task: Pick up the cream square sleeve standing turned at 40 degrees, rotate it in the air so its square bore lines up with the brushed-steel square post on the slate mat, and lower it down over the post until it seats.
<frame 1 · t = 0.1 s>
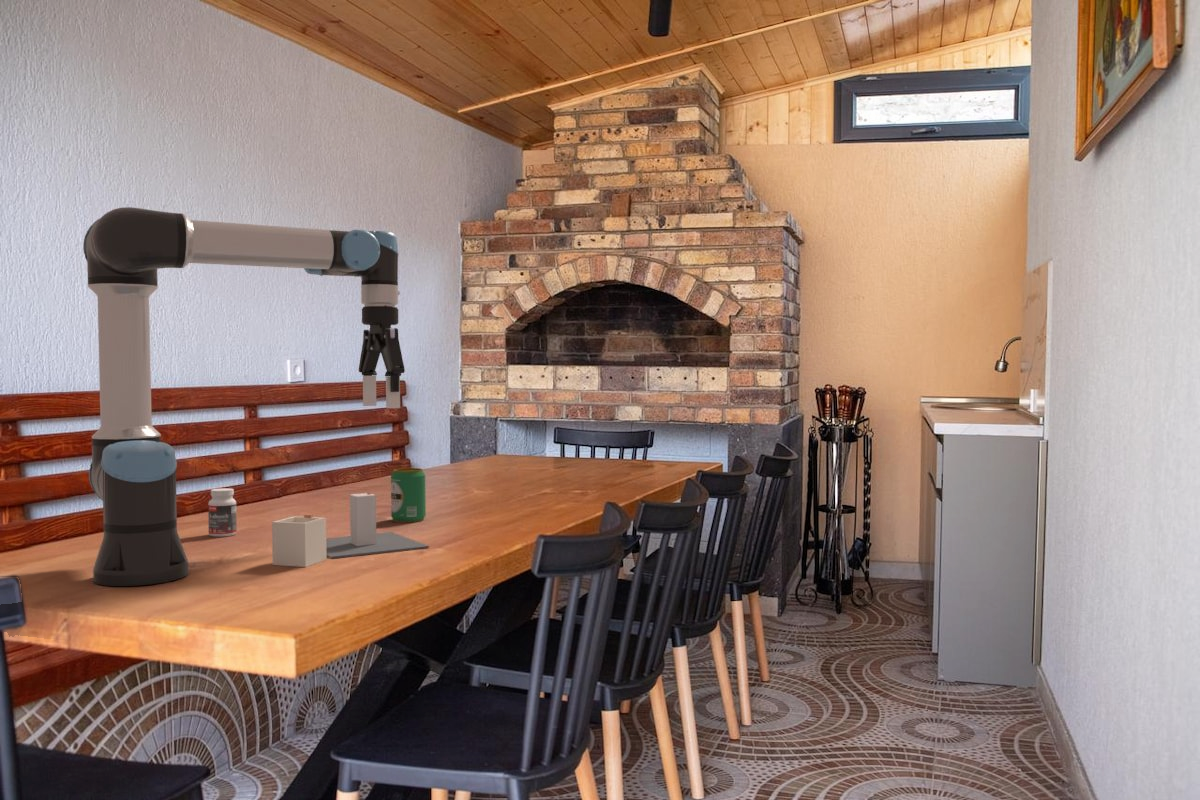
hand: (381, 407, 213), 28 cm above the table, fingers open, 13 cm apart
pill bottle: (222, 535, 219), on the table
cream square sleeve: (299, 562, 189), on the table
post: (363, 545, 206), on the table
beverage can: (408, 520, 239), on the table
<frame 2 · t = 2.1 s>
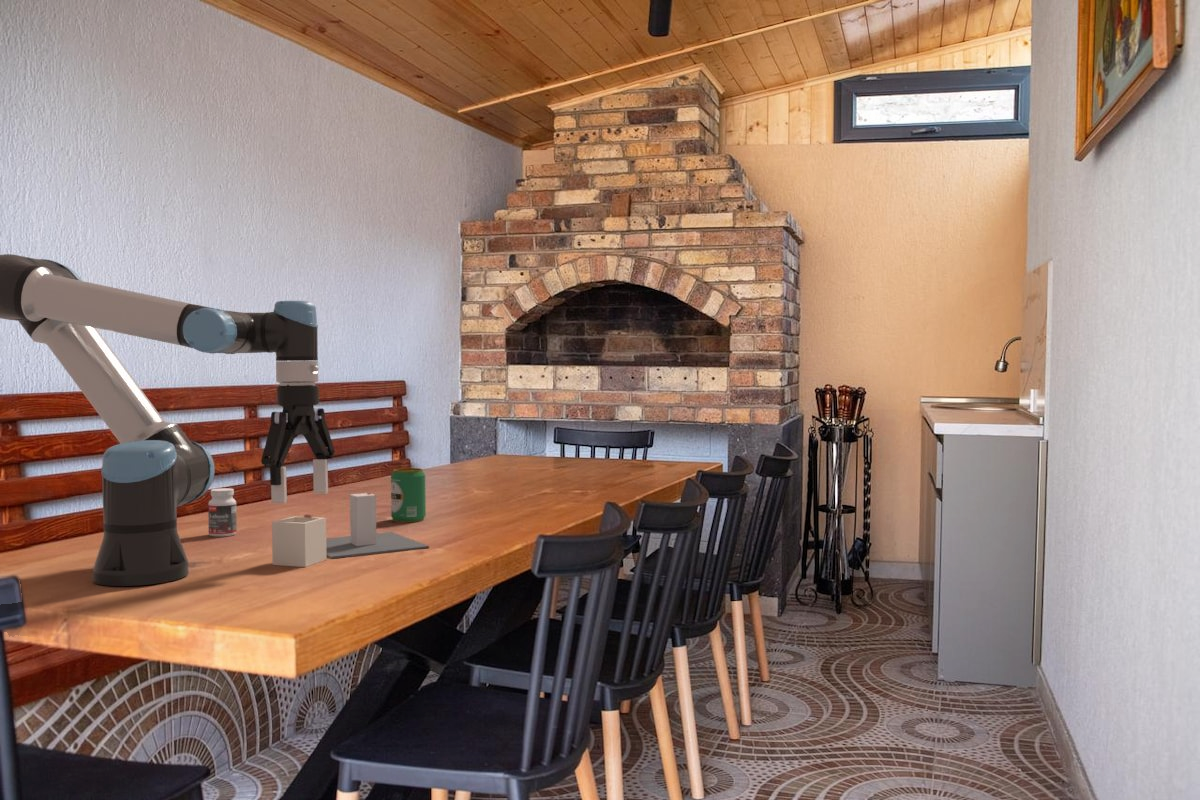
hand: (300, 498, 189), 12 cm above the table, fingers open, 13 cm apart
nothing on the table moved.
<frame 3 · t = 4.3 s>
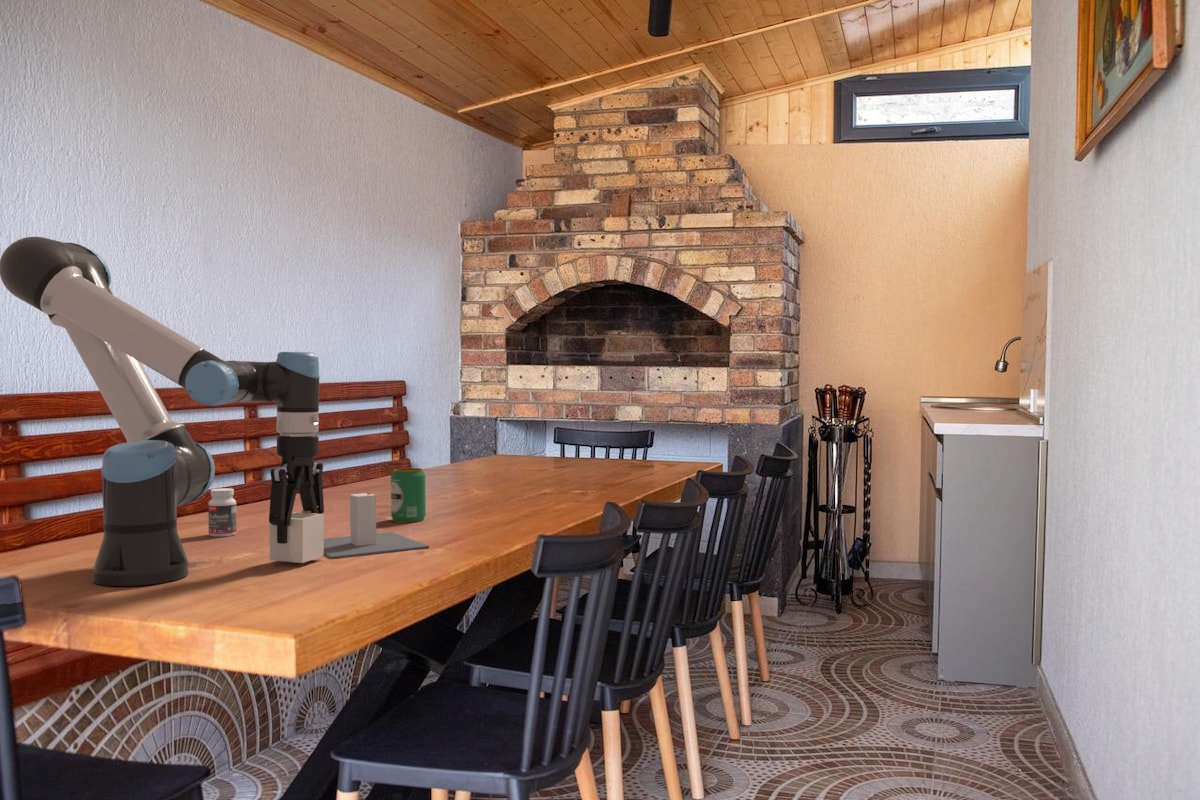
hand: (297, 556, 189), 1 cm above the table, fingers closed on cream square sleeve, 7 cm apart
cream square sleeve: (296, 558, 189), point 1 cm above the table, touching gripper
everything else where it was.
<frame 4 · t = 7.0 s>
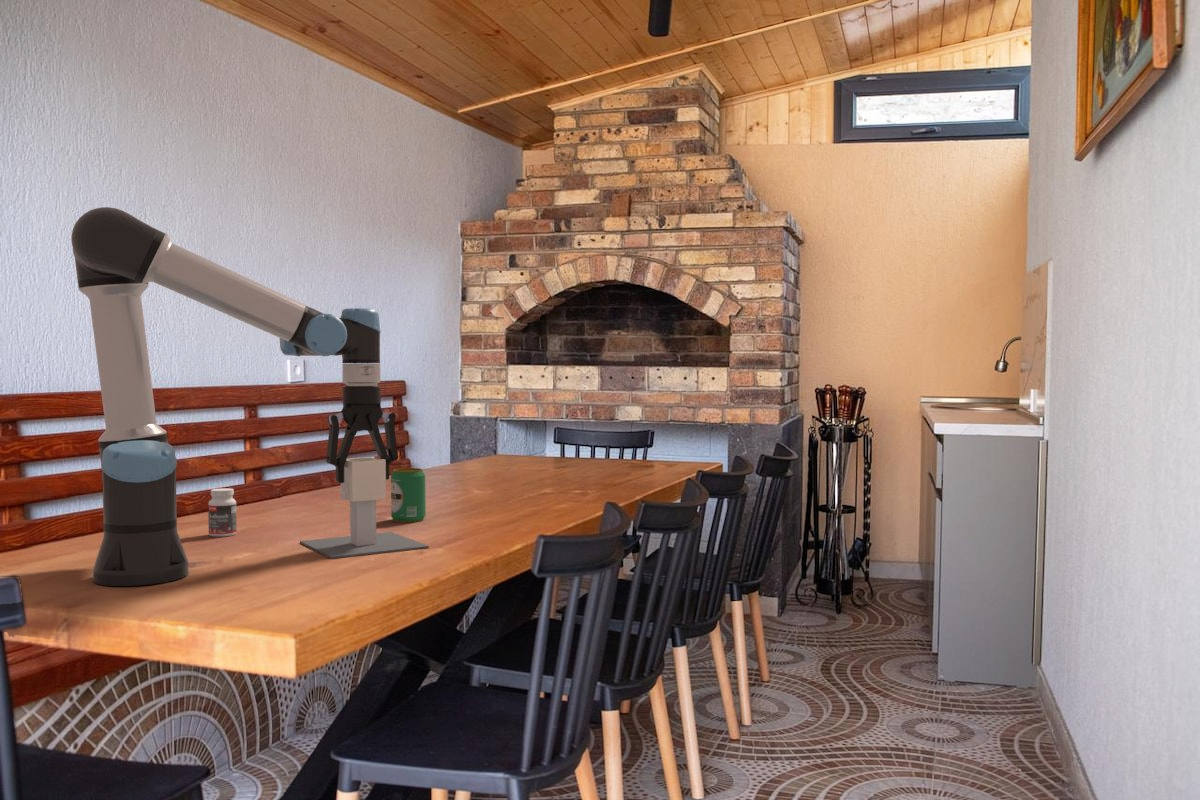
hand: (363, 497, 206), 10 cm above the table, fingers closed on cream square sleeve, 7 cm apart
cream square sleeve: (363, 498, 206), point 10 cm above the table, touching gripper
everything else where it was.
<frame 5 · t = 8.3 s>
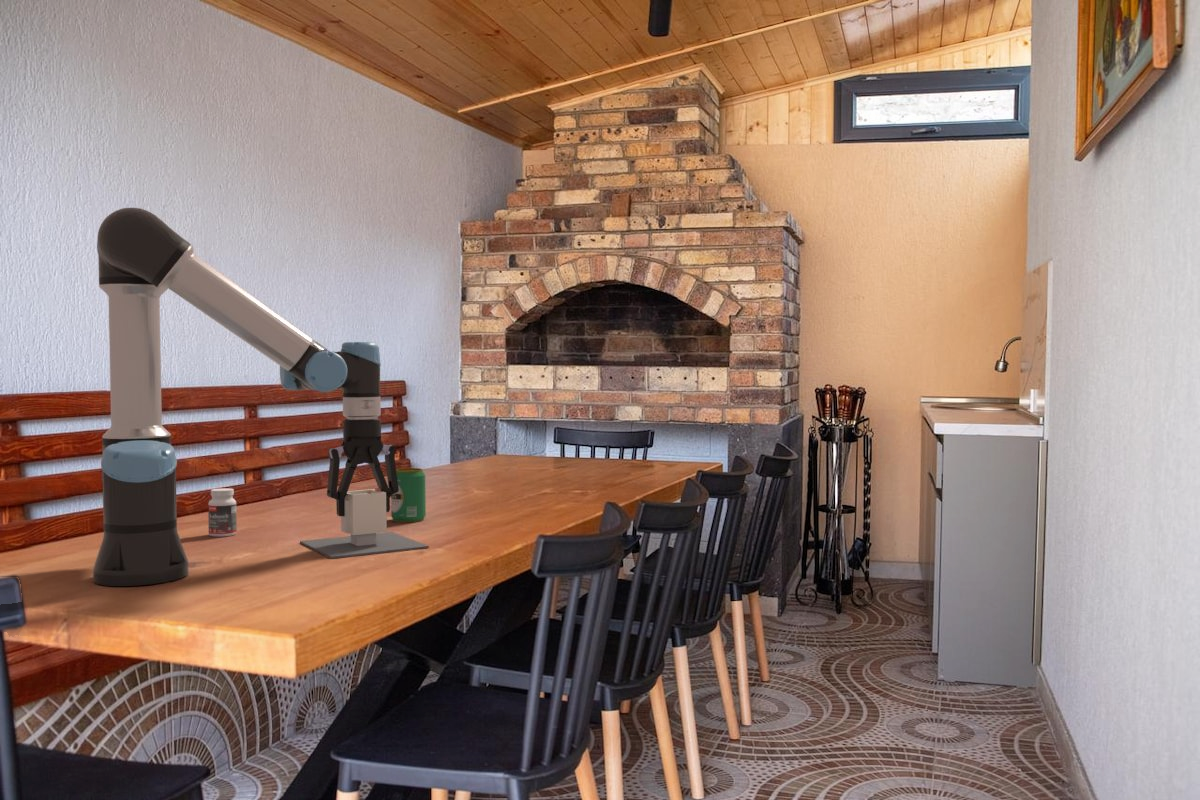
hand: (363, 529, 206), 3 cm above the table, fingers closed on cream square sleeve, 7 cm apart
cream square sleeve: (364, 531, 206), point 3 cm above the table, touching gripper
everything else where it was.
when the fingers open (2 cm above the table, at t = 9.5 s): cream square sleeve drops 1 cm, resting on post.
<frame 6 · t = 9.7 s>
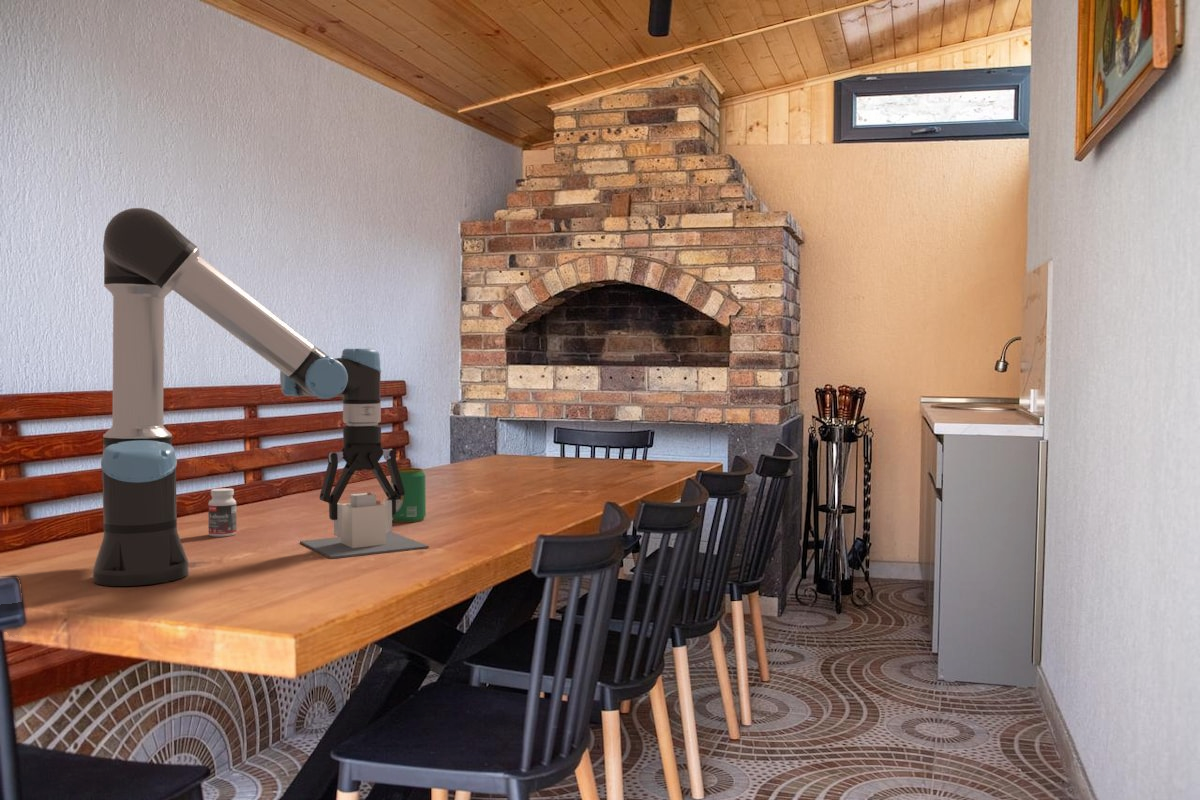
hand: (363, 533, 206), 2 cm above the table, fingers open, 10 cm apart
cream square sleeve: (363, 543, 206), resting on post
everything else where it was.
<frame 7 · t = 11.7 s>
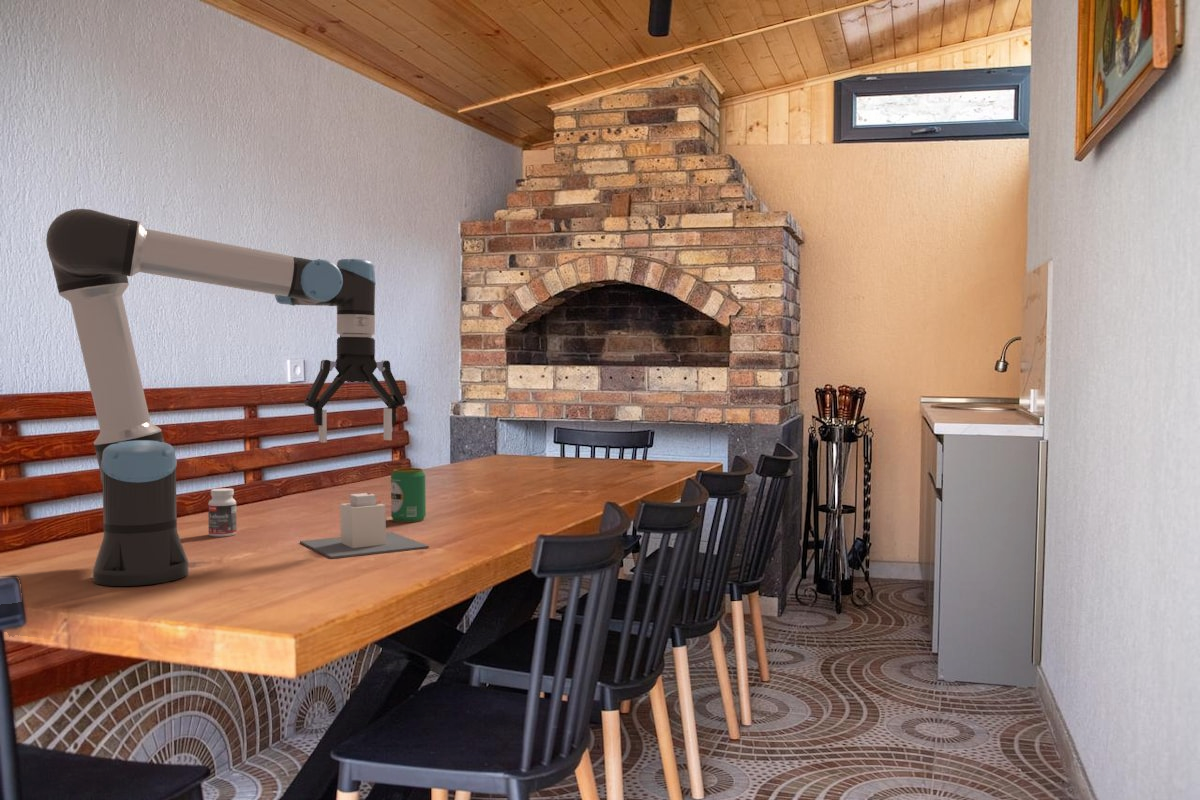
hand: (355, 441, 205), 21 cm above the table, fingers open, 13 cm apart
nothing on the table moved.
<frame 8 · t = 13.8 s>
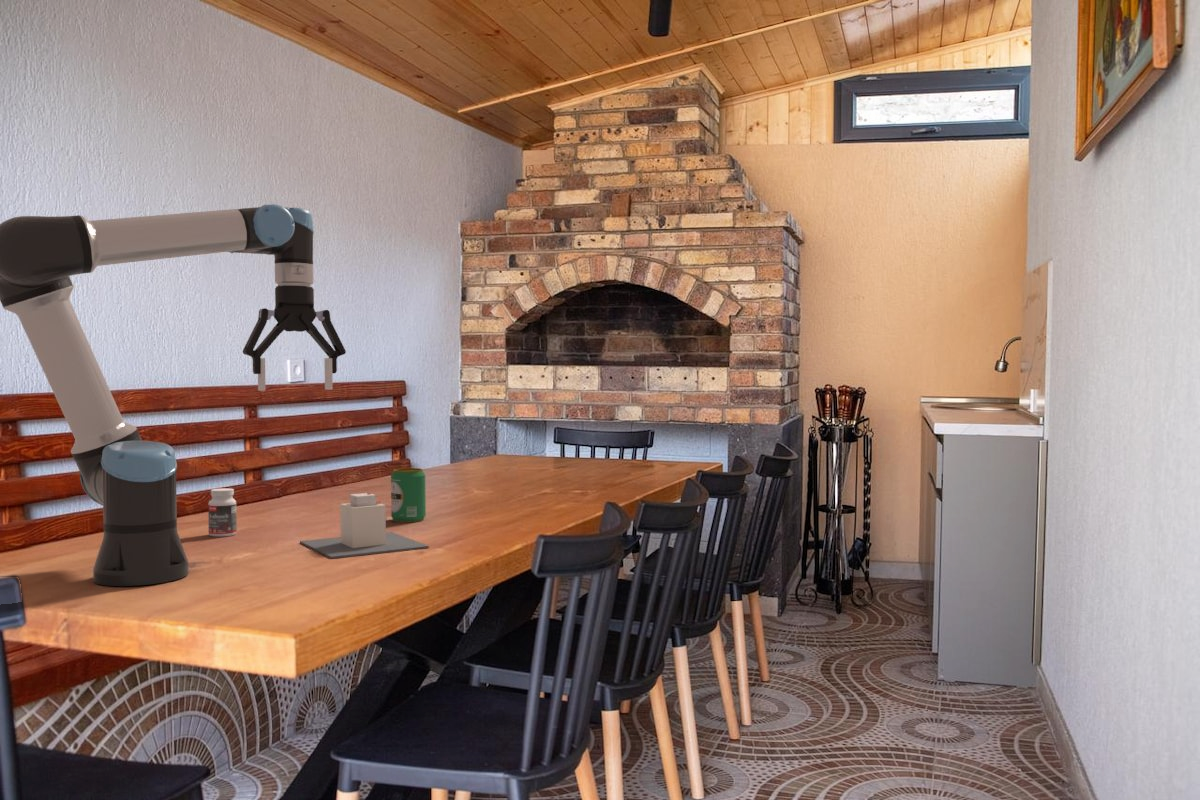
hand: (295, 390, 206), 32 cm above the table, fingers open, 13 cm apart
nothing on the table moved.
at the end: cream square sleeve 0.1 cm off-centre on the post, point 0.4 cm above the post's base; cream square sleeve tilted 0°; the gripper is holding nothing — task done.
